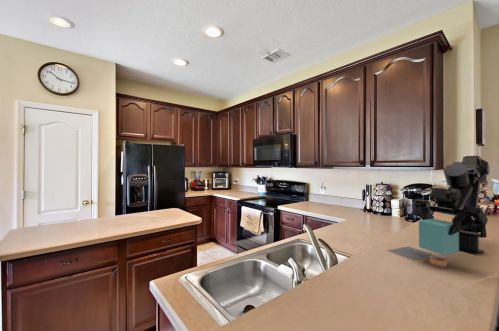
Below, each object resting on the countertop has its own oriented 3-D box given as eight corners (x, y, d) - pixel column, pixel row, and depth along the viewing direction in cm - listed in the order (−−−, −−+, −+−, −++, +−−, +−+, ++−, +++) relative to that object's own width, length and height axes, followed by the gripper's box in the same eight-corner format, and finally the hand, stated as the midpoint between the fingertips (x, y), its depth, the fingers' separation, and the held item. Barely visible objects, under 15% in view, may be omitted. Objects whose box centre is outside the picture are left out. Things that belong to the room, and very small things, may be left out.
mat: (408, 247, 90) (408, 246, 90) (436, 256, 81) (436, 255, 81) (386, 251, 86) (386, 250, 86) (413, 261, 77) (413, 260, 77)
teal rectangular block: (433, 244, 79) (433, 218, 79) (458, 251, 72) (458, 223, 72) (418, 247, 77) (418, 220, 76) (444, 255, 70) (444, 226, 70)
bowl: (435, 261, 77) (435, 254, 77) (450, 267, 73) (450, 259, 73) (426, 263, 76) (426, 256, 76) (441, 269, 71) (441, 261, 71)
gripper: (416, 178, 84) (395, 209, 81) (482, 181, 67) (459, 222, 63) (430, 197, 87) (411, 229, 83) (496, 206, 70) (476, 246, 66)
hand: (435, 231), depth 74 cm, fingers closed on teal rectangular block, 7 cm apart
